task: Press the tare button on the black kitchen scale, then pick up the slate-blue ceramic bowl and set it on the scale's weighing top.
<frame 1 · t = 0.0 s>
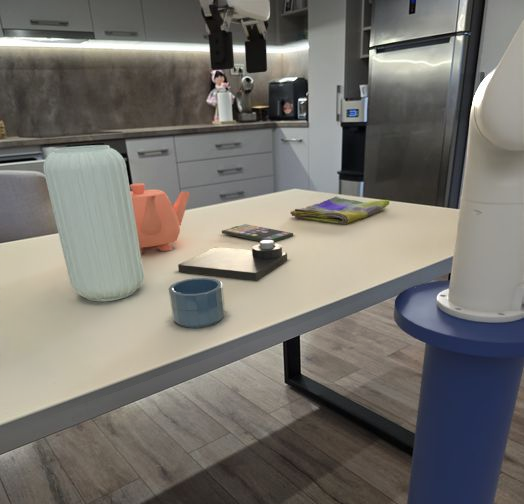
hand: (240, 70, 67), 31 cm above the table, tool pointing down, fingers open, 9 cm apart
teapot: (152, 249, 104), on the table
smartphone: (256, 236, 111), on the table
scale: (234, 266, 90), on the table
vase: (111, 294, 79), on the table
tare button: (266, 245, 89), point 3 cm above the table, slide at 0.1 cm
bowl: (199, 318, 67), on the table
dish towel: (341, 214, 128), on the table
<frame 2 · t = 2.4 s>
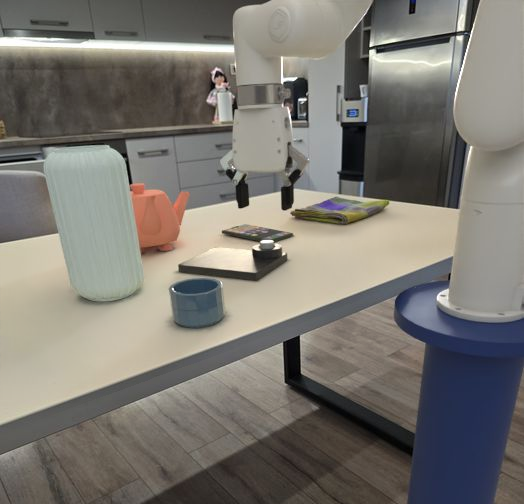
hand: (264, 207, 86), 10 cm above the table, tool pointing down, fingers open, 8 cm apart
nothing on the table moved.
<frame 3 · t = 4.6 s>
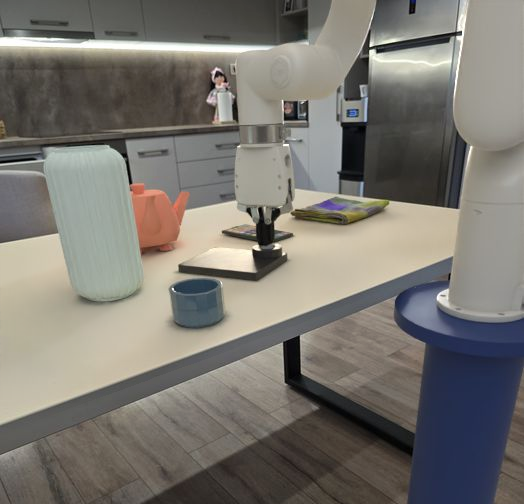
hand: (265, 243, 89), 4 cm above the table, tool pointing down, fingers closed
tare button: (266, 247, 89), point 3 cm above the table, slide at -0.4 cm, touching gripper
everything else where it was.
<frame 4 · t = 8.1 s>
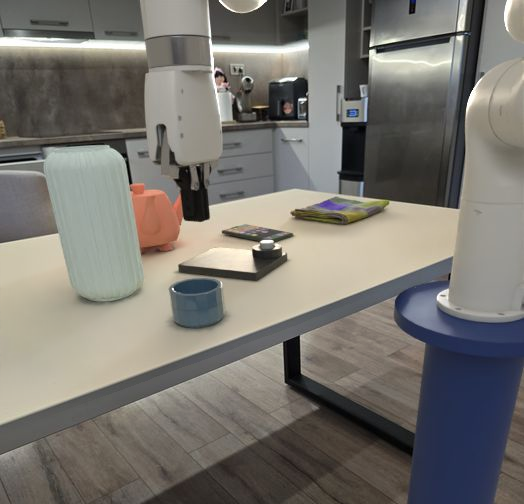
hand: (196, 219, 64), 13 cm above the table, tool pointing down, fingers closed
tare button: (266, 245, 89), point 3 cm above the table, slide at 0.1 cm
everything else where it was.
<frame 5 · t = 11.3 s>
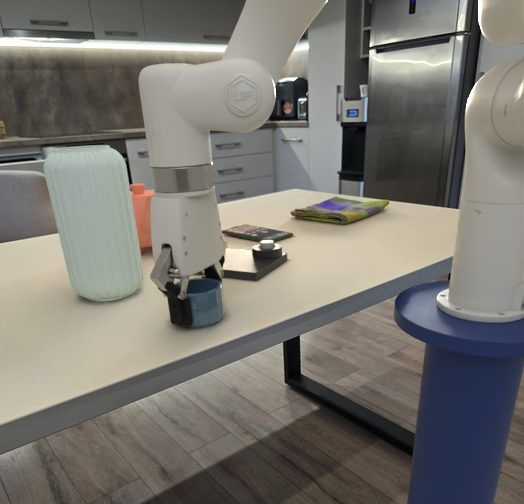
hand: (198, 313, 67), 1 cm above the table, tool pointing down, fingers closed on bowl, 7 cm apart
bowl: (199, 318, 67), on the table, touching gripper
everything else where it was.
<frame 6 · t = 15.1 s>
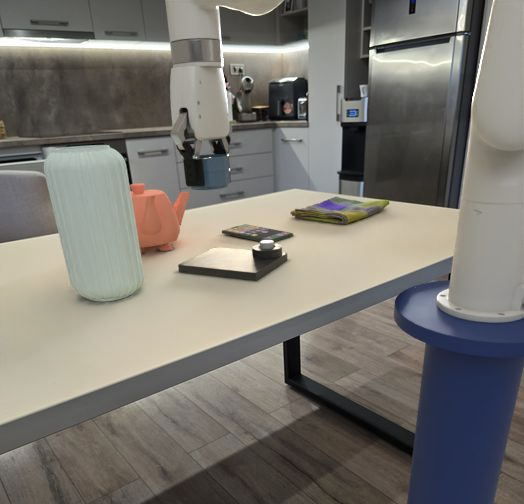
hand: (208, 181, 79), 16 cm above the table, tool pointing down, fingers closed on bowl, 7 cm apart
bowl: (209, 187, 79), point 15 cm above the table, touching gripper
everything else where it was.
when the fingers open (2 cm above the table, at t = 19.1 s): bowl stays where it is, resting on scale.
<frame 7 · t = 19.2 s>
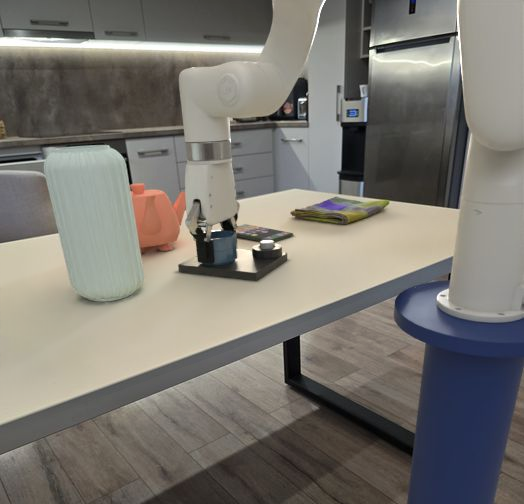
hand: (218, 256, 88), 2 cm above the table, tool pointing down, fingers open, 7 cm apart
bowl: (218, 260, 88), point 1 cm above the table, touching scale
everything else where it was.
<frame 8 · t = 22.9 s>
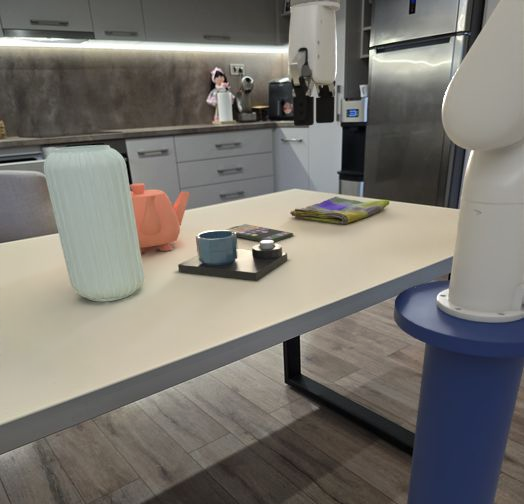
hand: (314, 124, 80), 23 cm above the table, tool pointing down, fingers open, 9 cm apart
nothing on the table moved.
at the end: tare button pushed in 0.9 cm at the most during the clip, back to where it started at the end; bowl inside the target area on the scale (2.6 cm from its centre), point 1.4 cm above the scale's base; bowl touching scale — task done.
